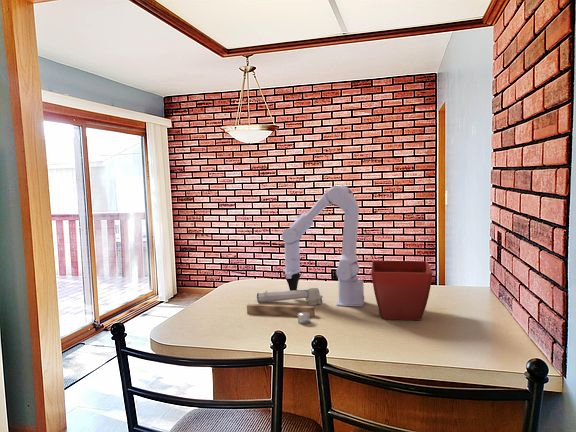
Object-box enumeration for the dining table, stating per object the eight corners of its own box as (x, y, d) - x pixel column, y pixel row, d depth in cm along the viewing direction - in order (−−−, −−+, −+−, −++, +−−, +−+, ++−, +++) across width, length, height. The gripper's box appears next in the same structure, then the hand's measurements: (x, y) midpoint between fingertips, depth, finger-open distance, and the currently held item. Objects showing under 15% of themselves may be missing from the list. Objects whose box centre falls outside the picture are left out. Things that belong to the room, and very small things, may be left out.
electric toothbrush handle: (259, 290, 179) (321, 283, 173) (262, 307, 179) (324, 300, 173) (255, 294, 174) (319, 287, 168) (258, 311, 174) (322, 304, 168)
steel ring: (311, 321, 152) (311, 312, 151) (308, 324, 148) (308, 315, 147) (299, 320, 152) (299, 311, 152) (296, 324, 149) (296, 315, 148)
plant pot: (433, 324, 144) (433, 272, 143) (371, 322, 148) (371, 271, 146) (427, 307, 163) (427, 260, 161) (372, 305, 166) (372, 260, 165)
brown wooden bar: (314, 314, 158) (314, 306, 158) (313, 316, 156) (313, 307, 156) (249, 311, 164) (248, 303, 164) (247, 313, 162) (246, 305, 161)
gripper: (286, 255, 186) (287, 287, 187) (277, 261, 172) (278, 297, 173) (303, 255, 184) (304, 288, 185) (295, 262, 170) (296, 297, 171)
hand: (293, 292), depth 179 cm, fingers closed
